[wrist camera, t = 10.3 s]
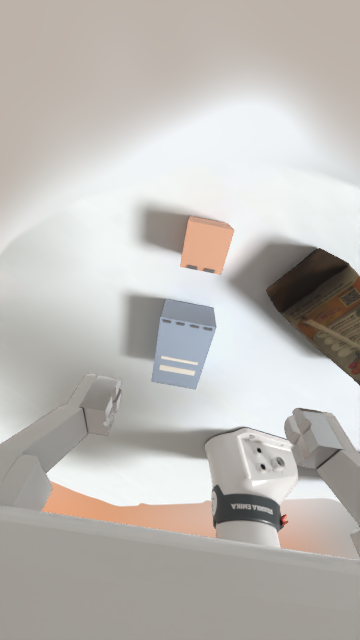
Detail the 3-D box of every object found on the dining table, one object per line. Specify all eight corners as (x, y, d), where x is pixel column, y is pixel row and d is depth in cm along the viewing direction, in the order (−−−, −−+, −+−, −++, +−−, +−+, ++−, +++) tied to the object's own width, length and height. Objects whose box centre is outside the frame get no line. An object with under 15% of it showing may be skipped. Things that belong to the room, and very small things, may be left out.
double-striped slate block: (213, 307, 29) (216, 328, 24) (195, 365, 35) (195, 390, 31) (166, 298, 29) (160, 317, 24) (157, 358, 35) (151, 382, 31)
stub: (227, 223, 23) (234, 230, 18) (217, 261, 25) (221, 275, 21) (189, 215, 22) (188, 220, 18) (183, 254, 25) (179, 267, 21)
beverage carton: (337, 361, 33) (366, 395, 27) (260, 289, 27) (276, 314, 22) (392, 332, 29) (438, 365, 23) (315, 242, 23) (352, 258, 18)
